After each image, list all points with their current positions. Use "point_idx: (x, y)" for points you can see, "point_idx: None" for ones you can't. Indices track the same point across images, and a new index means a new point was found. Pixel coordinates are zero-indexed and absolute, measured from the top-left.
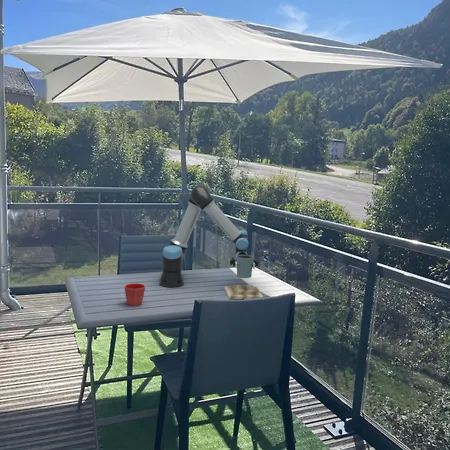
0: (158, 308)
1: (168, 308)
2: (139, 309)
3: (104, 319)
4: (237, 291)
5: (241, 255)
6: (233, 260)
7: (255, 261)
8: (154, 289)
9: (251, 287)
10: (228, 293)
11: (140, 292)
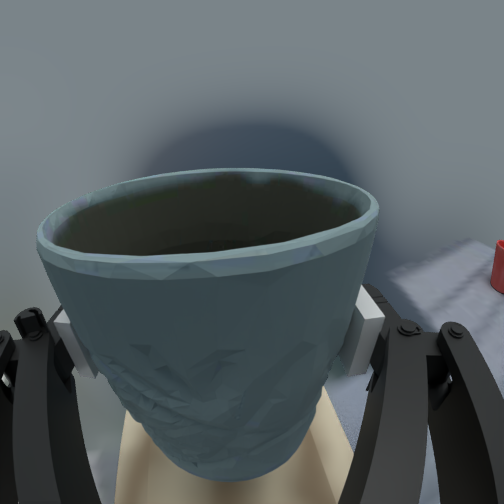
0: (454, 280)
1: (440, 284)
2: (472, 271)
3: (466, 245)
4: None
5: (292, 256)
6: (470, 446)
7: (28, 318)
8: None
9: (167, 485)
10: (331, 414)
11: (495, 252)
